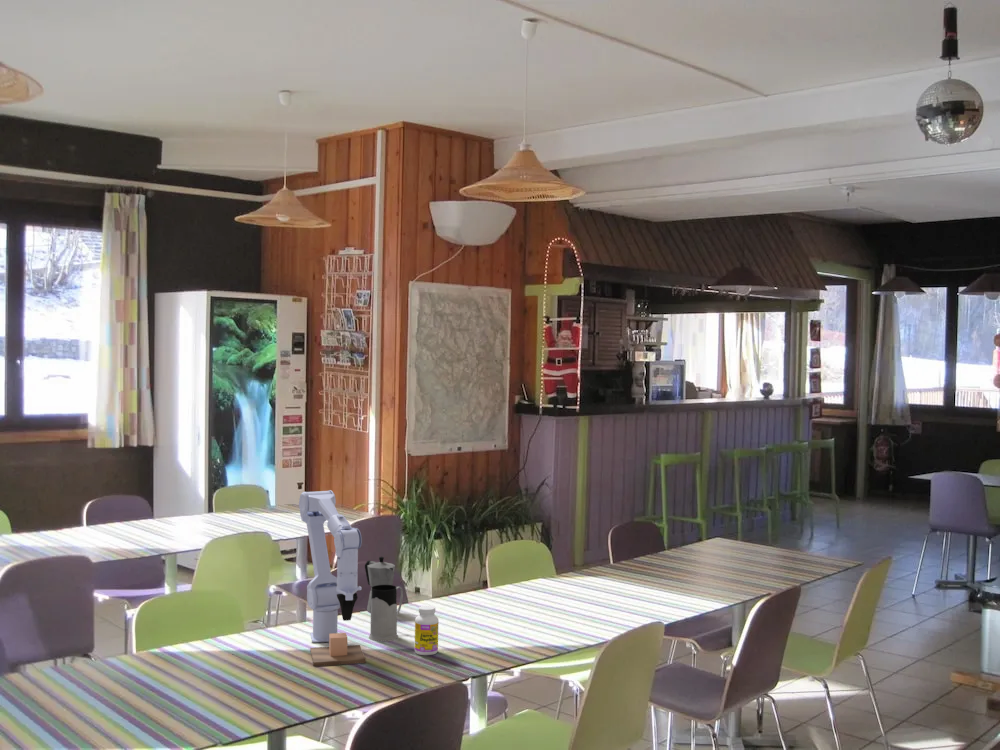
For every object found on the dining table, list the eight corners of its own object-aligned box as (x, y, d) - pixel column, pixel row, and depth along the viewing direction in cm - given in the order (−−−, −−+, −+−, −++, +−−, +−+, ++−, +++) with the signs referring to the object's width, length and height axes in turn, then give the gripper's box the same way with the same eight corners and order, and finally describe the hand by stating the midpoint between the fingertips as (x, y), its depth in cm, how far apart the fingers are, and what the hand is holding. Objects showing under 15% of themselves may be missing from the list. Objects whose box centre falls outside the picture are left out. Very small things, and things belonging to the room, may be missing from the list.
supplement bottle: (416, 656, 271) (417, 611, 271) (412, 650, 278) (413, 605, 278) (440, 655, 273) (440, 609, 273) (435, 648, 279) (436, 604, 279)
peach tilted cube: (329, 651, 272) (329, 633, 272) (345, 650, 273) (345, 632, 273) (330, 656, 267) (330, 638, 267) (347, 655, 269) (347, 637, 268)
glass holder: (362, 638, 289) (363, 588, 288) (389, 627, 301) (390, 579, 301) (387, 643, 284) (387, 592, 284) (413, 631, 297) (414, 582, 297)
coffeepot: (404, 612, 321) (404, 557, 321) (381, 616, 314) (382, 561, 314) (376, 603, 332) (377, 551, 332) (353, 607, 325) (354, 554, 325)
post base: (310, 651, 275) (310, 633, 275) (359, 648, 279) (360, 630, 279) (313, 666, 262) (313, 646, 262) (365, 662, 265) (365, 643, 265)
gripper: (364, 577, 268) (363, 626, 268) (359, 566, 282) (358, 612, 282) (338, 578, 266) (337, 627, 266) (334, 567, 280) (334, 613, 280)
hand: (346, 619), depth 274 cm, fingers closed
